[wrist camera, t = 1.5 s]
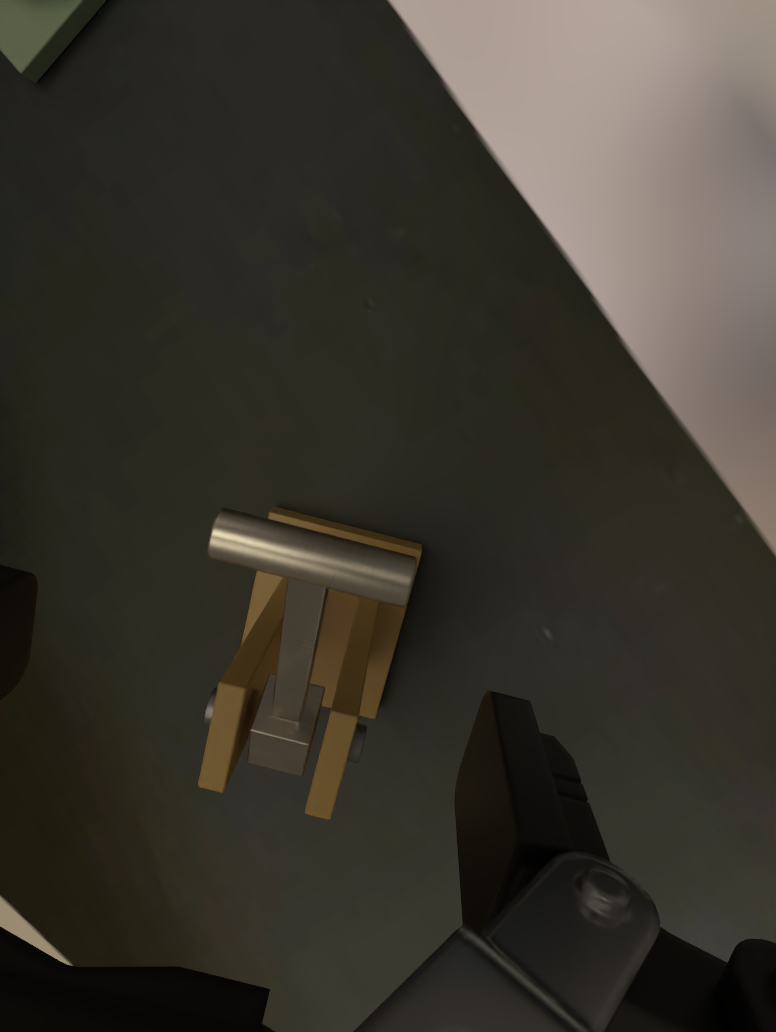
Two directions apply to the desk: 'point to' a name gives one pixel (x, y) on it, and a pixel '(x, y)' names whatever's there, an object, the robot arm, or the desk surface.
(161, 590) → the desk surface
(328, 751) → the bracket
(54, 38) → the button box
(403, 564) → the lever
